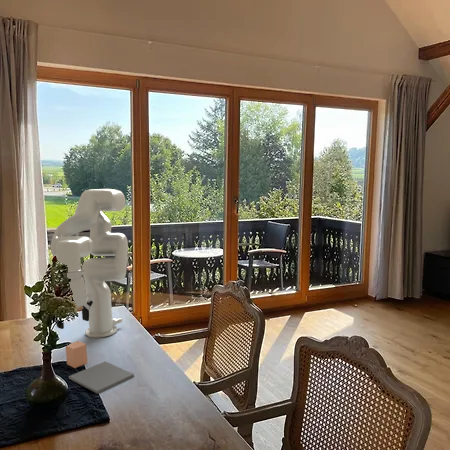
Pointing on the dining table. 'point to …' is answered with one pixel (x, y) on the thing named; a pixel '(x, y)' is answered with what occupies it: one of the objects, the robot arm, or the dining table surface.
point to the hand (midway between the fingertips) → (73, 324)
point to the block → (76, 354)
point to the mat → (101, 377)
